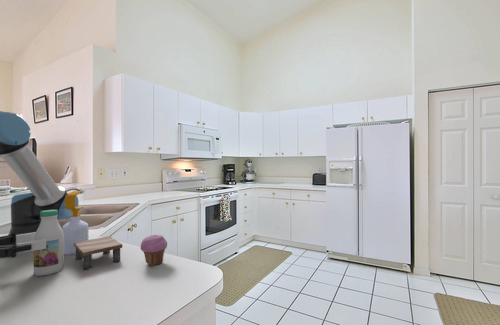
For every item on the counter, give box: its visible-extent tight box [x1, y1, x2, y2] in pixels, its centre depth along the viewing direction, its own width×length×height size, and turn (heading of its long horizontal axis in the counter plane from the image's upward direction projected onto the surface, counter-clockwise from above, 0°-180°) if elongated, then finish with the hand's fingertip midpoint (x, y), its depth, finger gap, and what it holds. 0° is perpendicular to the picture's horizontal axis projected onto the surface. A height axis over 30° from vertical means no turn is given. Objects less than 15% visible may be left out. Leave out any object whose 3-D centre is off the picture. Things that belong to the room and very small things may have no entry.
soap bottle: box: [61, 190, 89, 256], centre depth 101 cm, size 9×9×25 cm
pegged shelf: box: [74, 235, 123, 271], centre depth 91 cm, size 16×12×6 cm
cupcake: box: [140, 234, 168, 267], centre depth 86 cm, size 9×9×10 cm
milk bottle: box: [33, 210, 65, 277], centre depth 81 cm, size 8×8×20 cm
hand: (44, 239), depth 80 cm, fingers open, 13 cm apart
